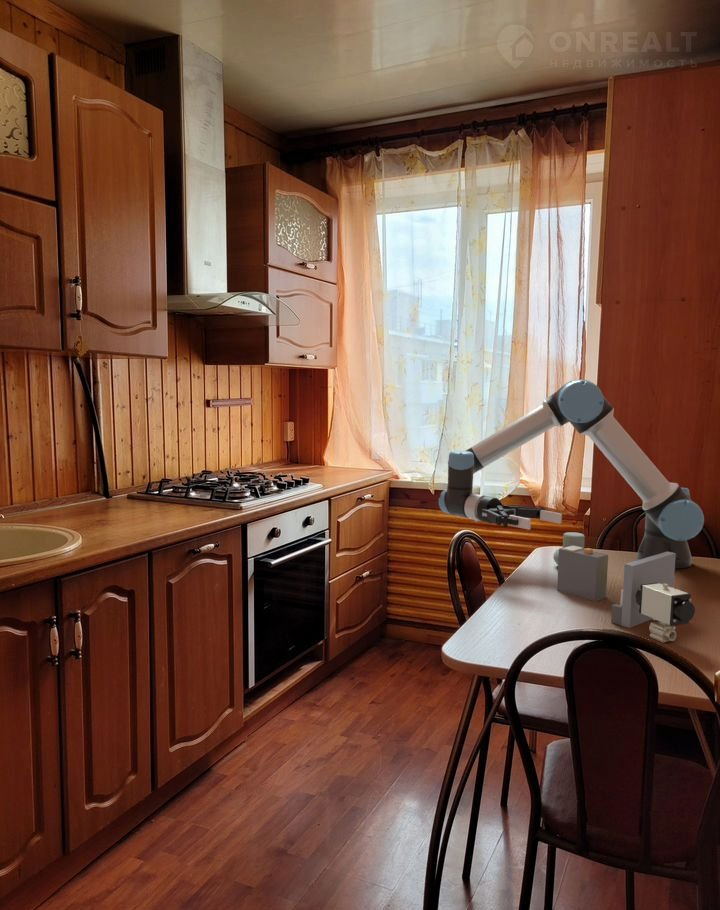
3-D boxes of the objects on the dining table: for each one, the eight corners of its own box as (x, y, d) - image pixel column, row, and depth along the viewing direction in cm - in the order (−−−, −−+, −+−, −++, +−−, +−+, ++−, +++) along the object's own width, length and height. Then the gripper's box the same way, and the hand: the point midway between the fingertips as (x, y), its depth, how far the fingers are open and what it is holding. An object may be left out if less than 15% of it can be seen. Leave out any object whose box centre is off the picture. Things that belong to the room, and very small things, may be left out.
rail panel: (653, 606, 169) (657, 549, 168) (672, 610, 166) (675, 553, 164) (611, 622, 157) (614, 561, 156) (629, 628, 154) (633, 565, 152)
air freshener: (562, 572, 198) (564, 538, 197) (548, 565, 206) (549, 531, 205) (597, 570, 201) (598, 536, 200) (581, 563, 209) (583, 530, 208)
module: (568, 587, 184) (570, 542, 183) (606, 597, 176) (608, 550, 175) (557, 590, 181) (559, 545, 180) (594, 601, 173) (597, 553, 171)
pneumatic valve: (676, 651, 141) (680, 593, 140) (632, 631, 152) (635, 577, 150) (696, 647, 143) (700, 590, 142) (651, 628, 154) (654, 575, 153)
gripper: (511, 517, 210) (572, 529, 194) (453, 526, 194) (515, 541, 178) (512, 492, 209) (573, 503, 193) (455, 499, 193) (516, 512, 177)
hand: (545, 521), depth 185 cm, fingers open, 13 cm apart
